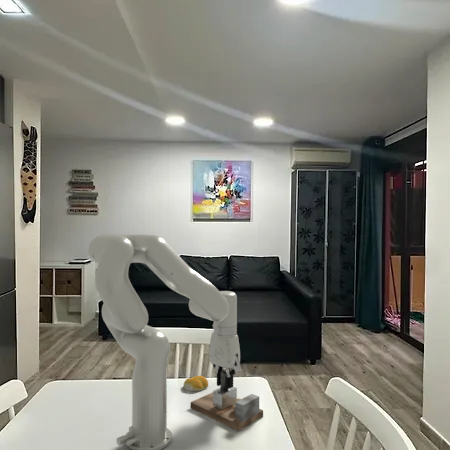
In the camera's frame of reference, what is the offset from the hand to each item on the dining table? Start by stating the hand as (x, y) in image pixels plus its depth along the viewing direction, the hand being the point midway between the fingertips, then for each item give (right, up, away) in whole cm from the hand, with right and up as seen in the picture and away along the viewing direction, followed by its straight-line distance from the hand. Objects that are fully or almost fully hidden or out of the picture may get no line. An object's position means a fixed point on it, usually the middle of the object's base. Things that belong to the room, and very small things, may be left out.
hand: (224, 385), depth 130 cm
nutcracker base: (0, -9, 0) cm, 9 cm away
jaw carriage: (0, -6, 0) cm, 6 cm away
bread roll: (-11, -9, +19) cm, 24 cm away
